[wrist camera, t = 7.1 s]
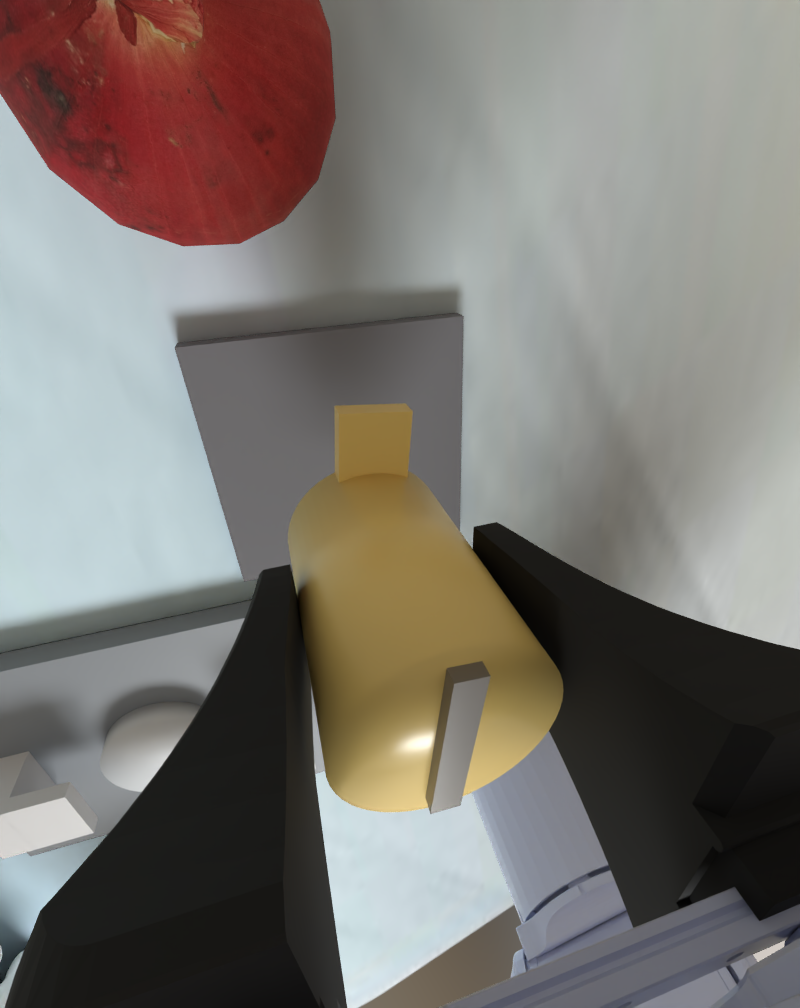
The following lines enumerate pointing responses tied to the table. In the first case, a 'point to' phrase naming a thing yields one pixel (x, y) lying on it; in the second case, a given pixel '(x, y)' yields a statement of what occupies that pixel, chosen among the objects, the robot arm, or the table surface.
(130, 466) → the table surface
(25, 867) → the table surface
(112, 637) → the post base
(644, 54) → the table surface
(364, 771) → the yellow rounded piece
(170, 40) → the onion
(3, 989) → the skull bowl
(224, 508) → the mat
